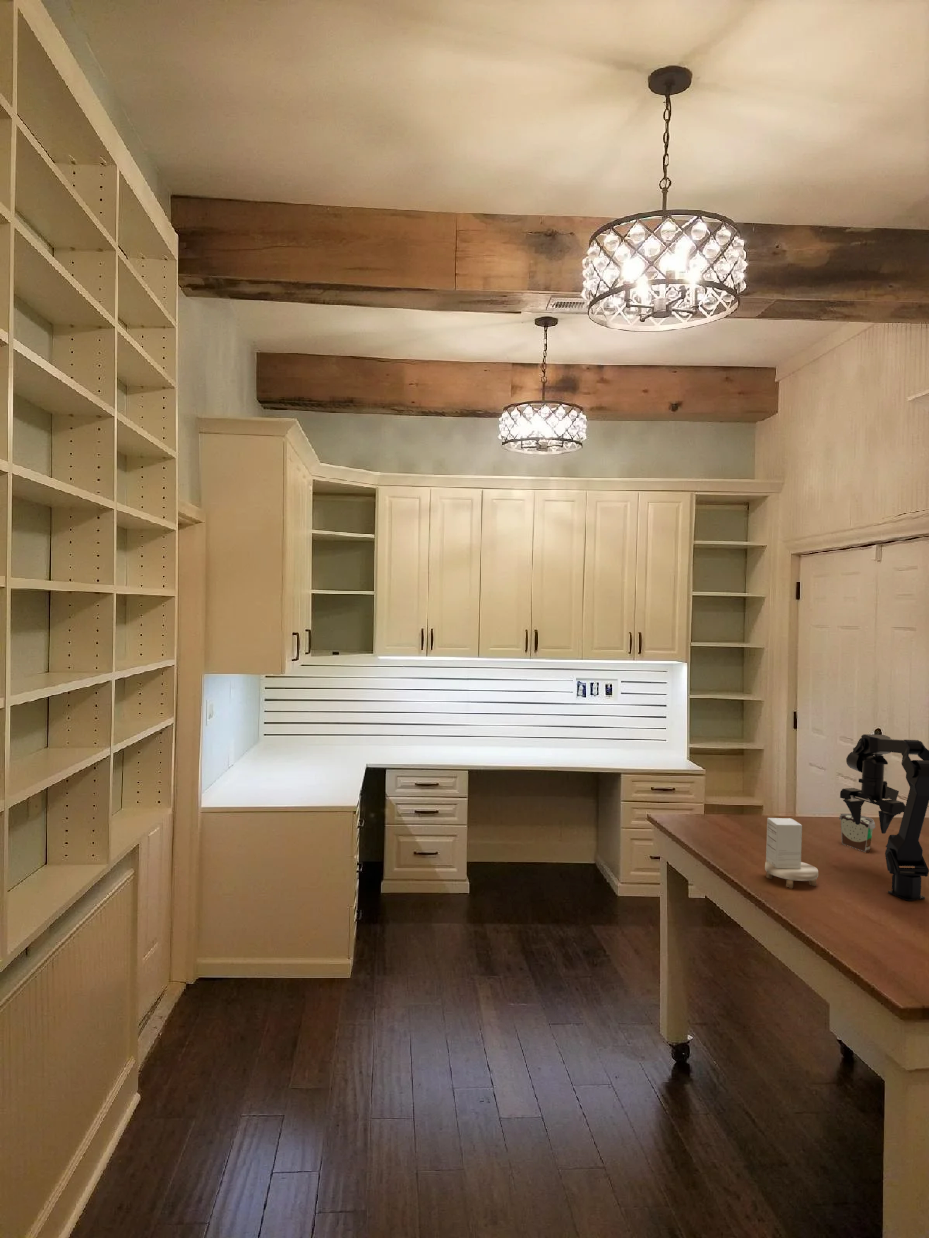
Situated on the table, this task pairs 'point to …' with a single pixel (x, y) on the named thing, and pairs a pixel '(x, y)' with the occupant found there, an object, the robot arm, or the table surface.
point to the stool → (793, 873)
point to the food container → (856, 832)
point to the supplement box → (784, 843)
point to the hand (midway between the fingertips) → (870, 828)
